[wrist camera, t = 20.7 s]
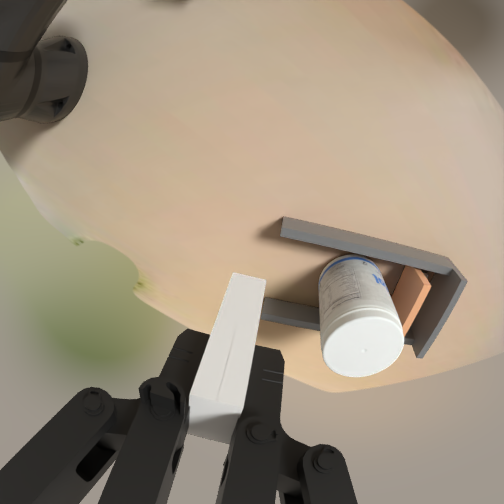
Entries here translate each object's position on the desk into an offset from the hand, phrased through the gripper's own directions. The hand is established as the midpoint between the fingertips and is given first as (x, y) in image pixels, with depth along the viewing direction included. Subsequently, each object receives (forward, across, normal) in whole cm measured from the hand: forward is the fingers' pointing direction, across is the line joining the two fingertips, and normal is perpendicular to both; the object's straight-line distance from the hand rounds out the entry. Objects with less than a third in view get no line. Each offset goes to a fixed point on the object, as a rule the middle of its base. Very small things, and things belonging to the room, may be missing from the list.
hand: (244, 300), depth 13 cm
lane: (+26, +15, -12) cm, 32 cm away
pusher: (+25, +24, -12) cm, 37 cm away
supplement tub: (+26, +14, -12) cm, 32 cm away
